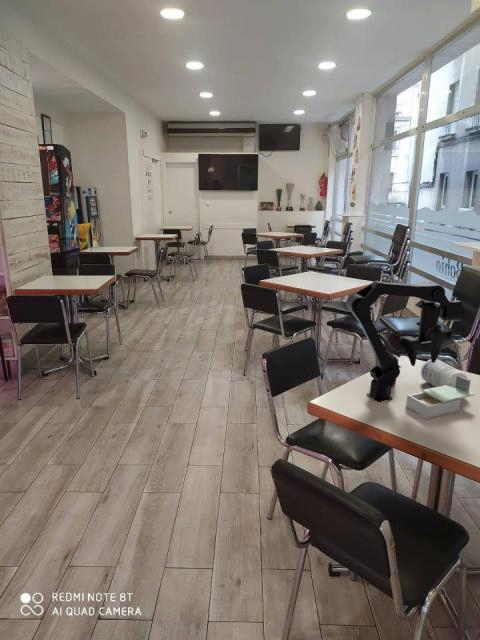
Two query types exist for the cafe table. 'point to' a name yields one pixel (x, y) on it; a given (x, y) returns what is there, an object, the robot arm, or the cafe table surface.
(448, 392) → the lid
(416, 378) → the cafe table surface
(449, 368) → the supplement tub
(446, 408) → the white shallow box
